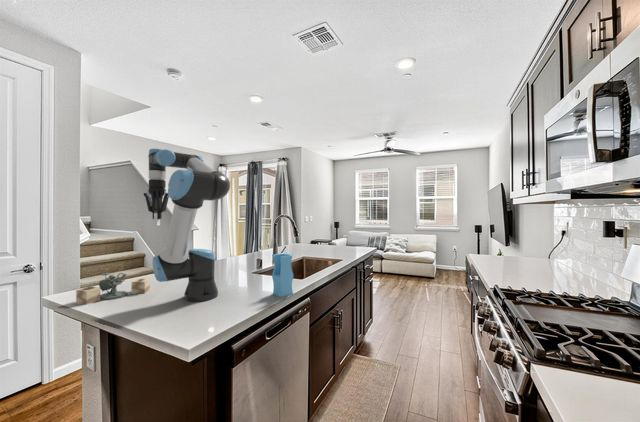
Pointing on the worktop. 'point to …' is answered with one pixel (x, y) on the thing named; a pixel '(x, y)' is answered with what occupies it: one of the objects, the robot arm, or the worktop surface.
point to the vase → (282, 275)
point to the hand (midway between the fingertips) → (157, 225)
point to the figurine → (109, 284)
